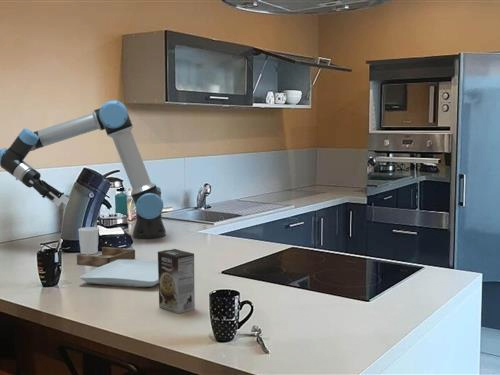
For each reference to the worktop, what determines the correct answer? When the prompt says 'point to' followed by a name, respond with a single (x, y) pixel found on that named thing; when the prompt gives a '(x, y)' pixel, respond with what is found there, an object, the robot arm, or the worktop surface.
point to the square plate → (125, 273)
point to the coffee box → (176, 280)
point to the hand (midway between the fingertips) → (66, 204)
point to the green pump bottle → (121, 202)
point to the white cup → (88, 240)
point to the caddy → (106, 256)
